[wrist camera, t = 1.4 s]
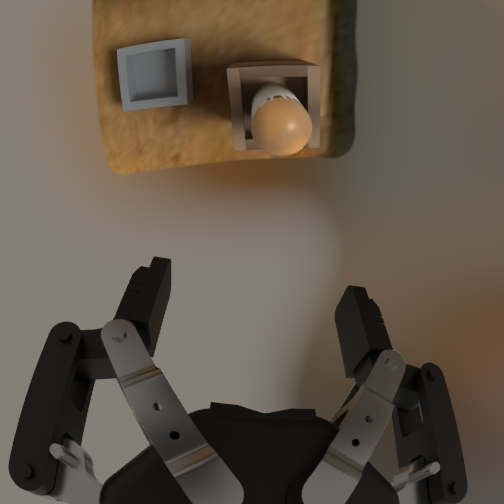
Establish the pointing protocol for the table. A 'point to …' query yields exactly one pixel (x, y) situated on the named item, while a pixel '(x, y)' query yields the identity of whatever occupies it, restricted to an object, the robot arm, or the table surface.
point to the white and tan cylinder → (279, 120)
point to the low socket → (156, 74)
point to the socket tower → (278, 71)
